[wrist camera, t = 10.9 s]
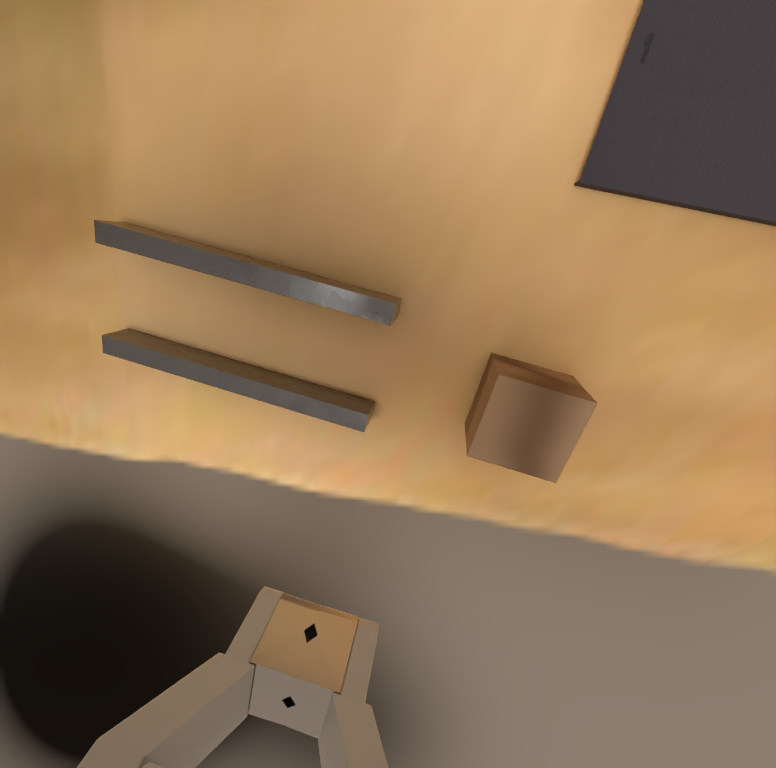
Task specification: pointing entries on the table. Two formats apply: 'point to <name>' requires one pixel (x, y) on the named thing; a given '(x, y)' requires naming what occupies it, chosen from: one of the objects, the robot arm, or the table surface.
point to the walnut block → (526, 417)
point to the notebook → (694, 110)
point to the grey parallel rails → (226, 370)
